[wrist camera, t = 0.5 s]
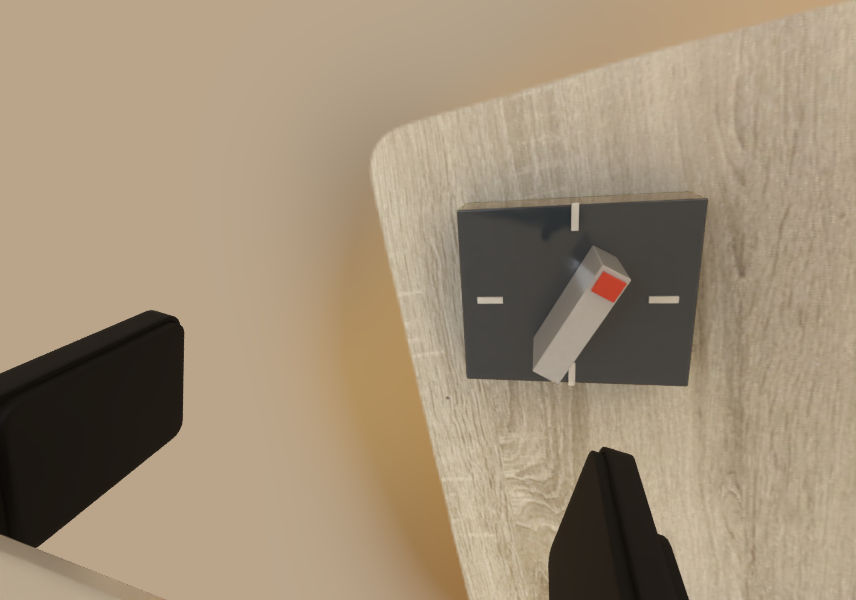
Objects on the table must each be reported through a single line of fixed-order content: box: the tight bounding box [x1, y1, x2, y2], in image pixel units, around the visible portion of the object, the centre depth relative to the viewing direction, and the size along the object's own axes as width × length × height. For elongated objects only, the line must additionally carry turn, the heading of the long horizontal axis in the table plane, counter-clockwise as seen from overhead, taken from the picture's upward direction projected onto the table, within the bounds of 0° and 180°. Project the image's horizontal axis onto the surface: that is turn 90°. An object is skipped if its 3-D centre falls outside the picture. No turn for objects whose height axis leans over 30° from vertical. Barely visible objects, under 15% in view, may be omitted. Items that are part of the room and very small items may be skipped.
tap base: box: [457, 191, 708, 386], centre depth 26 cm, size 12×10×3 cm
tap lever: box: [533, 246, 631, 384], centre depth 23 cm, size 6×1×4 cm, turn 155°
